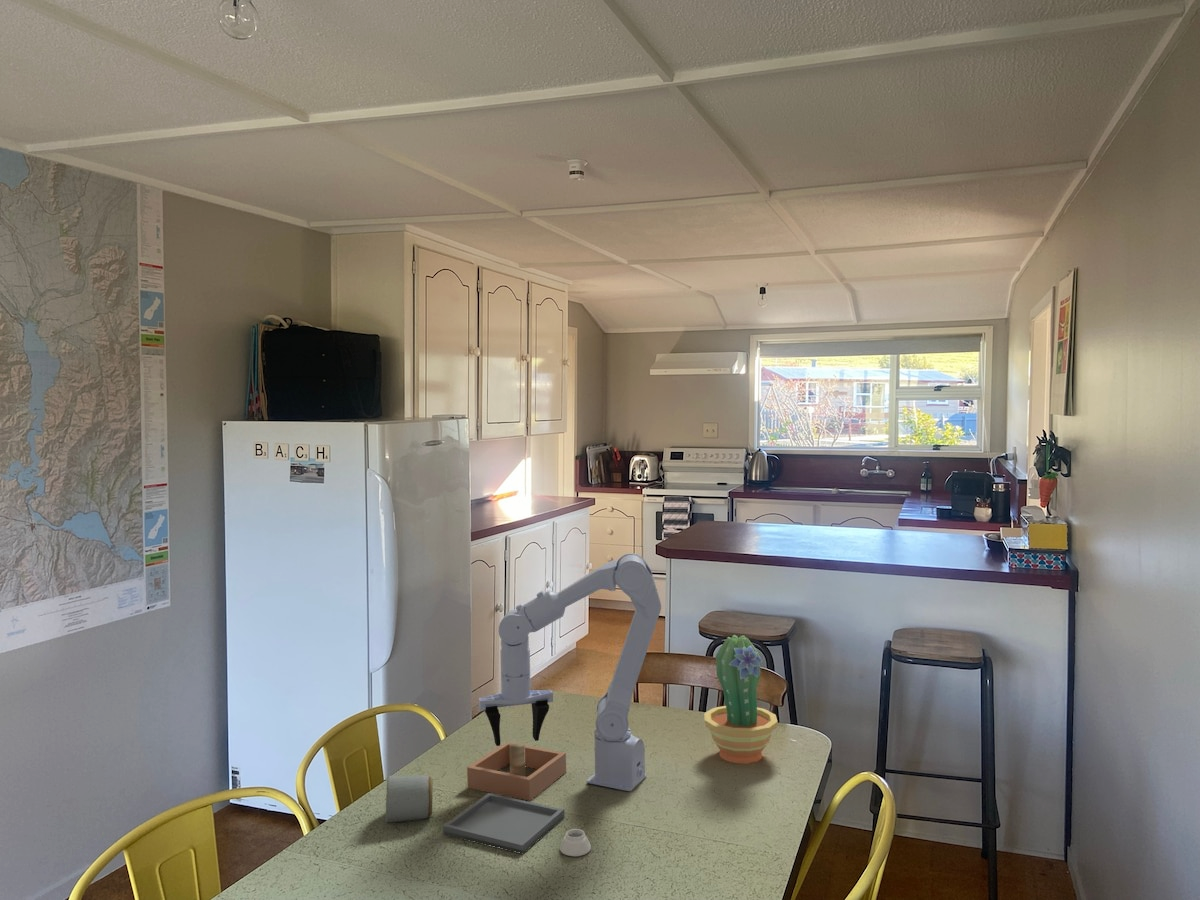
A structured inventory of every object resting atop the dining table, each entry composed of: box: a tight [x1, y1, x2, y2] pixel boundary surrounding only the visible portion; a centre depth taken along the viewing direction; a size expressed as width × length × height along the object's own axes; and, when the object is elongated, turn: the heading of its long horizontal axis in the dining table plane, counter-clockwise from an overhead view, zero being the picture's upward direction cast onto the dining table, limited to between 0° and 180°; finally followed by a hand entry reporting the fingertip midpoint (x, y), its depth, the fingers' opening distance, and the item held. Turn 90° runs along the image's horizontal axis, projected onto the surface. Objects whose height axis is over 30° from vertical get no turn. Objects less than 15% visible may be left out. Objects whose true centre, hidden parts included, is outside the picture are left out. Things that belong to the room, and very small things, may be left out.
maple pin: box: [509, 741, 526, 777], centre depth 167 cm, size 3×3×7 cm
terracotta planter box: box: [466, 741, 567, 802], centre depth 167 cm, size 14×14×4 cm
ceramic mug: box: [385, 774, 434, 823], centre depth 153 cm, size 11×8×8 cm
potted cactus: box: [703, 634, 778, 764], centre depth 177 cm, size 15×15×25 cm
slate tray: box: [442, 792, 565, 854], centre depth 148 cm, size 16×14×2 cm
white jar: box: [559, 828, 592, 857], centre depth 139 cm, size 5×3×5 cm
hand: (516, 741), depth 166 cm, fingers open, 7 cm apart
